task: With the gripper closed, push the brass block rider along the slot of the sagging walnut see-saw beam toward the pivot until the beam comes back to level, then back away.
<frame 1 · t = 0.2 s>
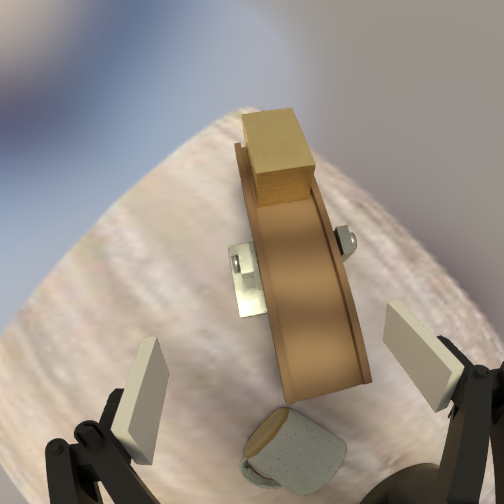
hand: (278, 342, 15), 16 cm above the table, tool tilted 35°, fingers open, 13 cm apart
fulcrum: (287, 272, 33), on the table
beam: (295, 250, 25), point 8 cm above the table, hinge at 6.4°, touching rider
ceramic mug: (284, 447, 27), on the table
rider: (275, 173, 27), point 8 cm above the table, tilted 6°, touching beam
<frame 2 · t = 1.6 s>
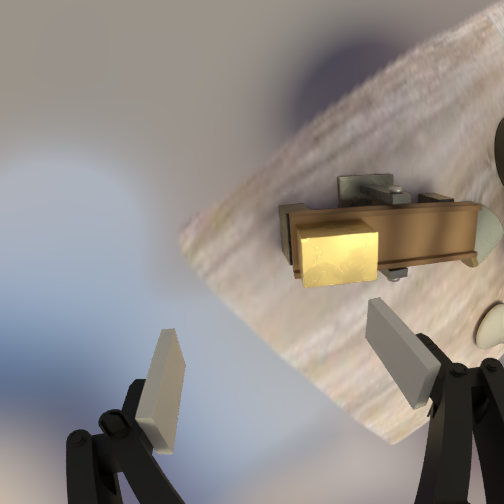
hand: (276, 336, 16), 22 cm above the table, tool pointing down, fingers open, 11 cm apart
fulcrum: (366, 219, 38), on the table
beam: (397, 235, 30), point 8 cm above the table, hinge at 6.9°, touching rider
flower in vase: (486, 325, 48), on the table
ceramic mug: (464, 233, 40), on the table
rider: (330, 243, 30), point 8 cm above the table, tilted 7°, touching beam
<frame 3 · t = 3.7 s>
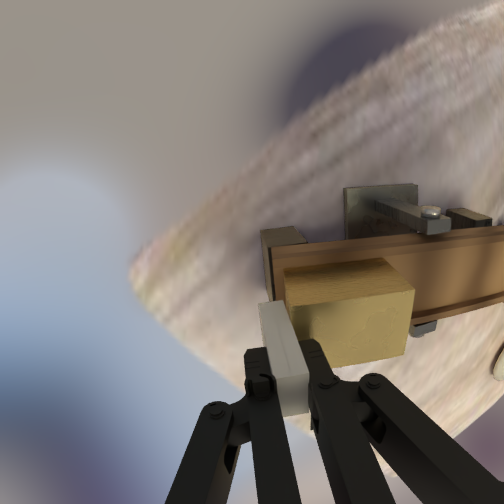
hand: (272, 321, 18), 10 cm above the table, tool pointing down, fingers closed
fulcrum: (381, 245, 28), on the table
beam: (427, 277, 20), point 8 cm above the table, hinge at 6.1°, touching rider
rider: (335, 293, 20), point 8 cm above the table, tilted 6°, touching beam, gripper
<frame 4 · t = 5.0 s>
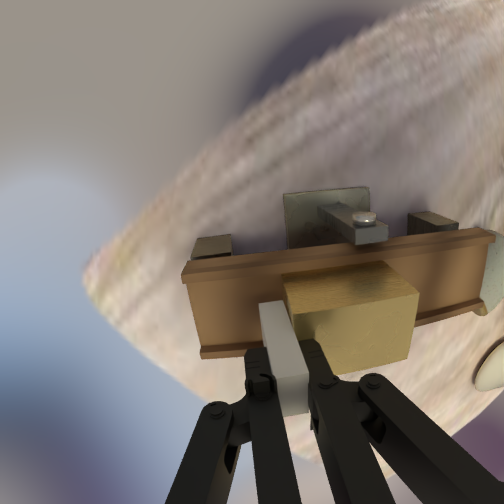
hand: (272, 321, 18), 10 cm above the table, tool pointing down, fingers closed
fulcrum: (329, 252, 27), on the table
beam: (365, 290, 20), point 8 cm above the table, hinge at 2.9°
flower in vase: (488, 364, 38), on the table
ceramic mug: (471, 267, 30), on the table
rider: (334, 298, 19), point 9 cm above the table, touching gripper
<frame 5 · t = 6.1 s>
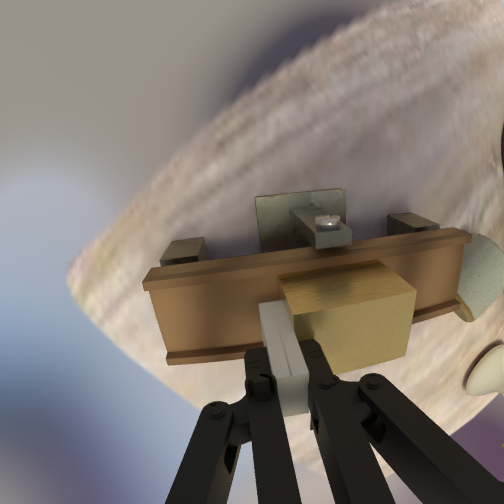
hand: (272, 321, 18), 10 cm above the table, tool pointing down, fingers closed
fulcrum: (303, 255, 28), on the table
beam: (331, 295, 20), point 8 cm above the table, hinge at -0.6°, touching rider
flower in vase: (480, 368, 38), on the table
ceramic mug: (460, 272, 30), on the table
rider: (330, 297, 19), point 9 cm above the table, touching beam, gripper
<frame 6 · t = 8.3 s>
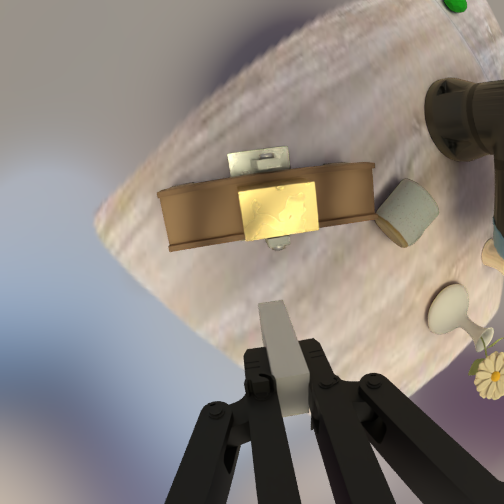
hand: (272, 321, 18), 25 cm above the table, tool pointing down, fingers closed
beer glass: (488, 251, 48), on the table
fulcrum: (263, 192, 40), on the table
beam: (273, 202, 32), point 8 cm above the table, hinge at 0.6°, touching rider
flower in vase: (441, 308, 50), on the table
ceramic mug: (398, 213, 43), on the table
polyhedron: (447, 5, 30), on the table
rider: (272, 202, 31), point 9 cm above the table, touching beam
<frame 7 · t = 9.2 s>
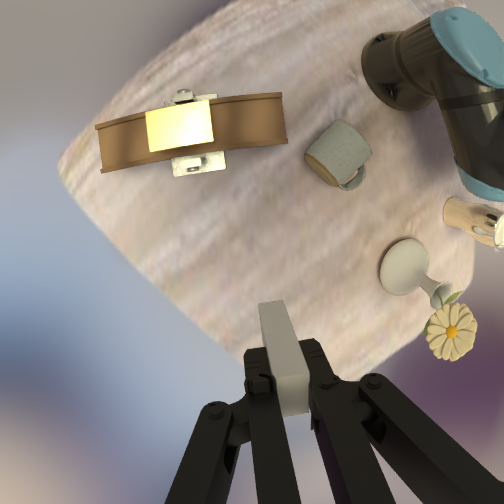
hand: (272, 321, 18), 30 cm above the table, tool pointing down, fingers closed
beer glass: (452, 211, 49), on the table
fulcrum: (195, 134, 42), on the table
beam: (187, 129, 34), point 8 cm above the table, hinge at 0.6°, touching rider
flower in vase: (397, 267, 52), on the table
ceramic mug: (335, 158, 45), on the table
rider: (185, 129, 33), point 9 cm above the table, touching beam
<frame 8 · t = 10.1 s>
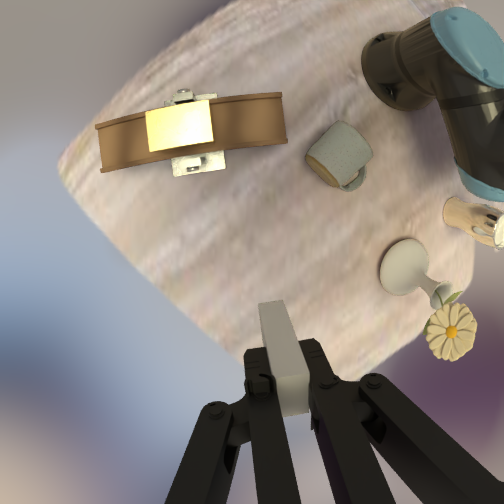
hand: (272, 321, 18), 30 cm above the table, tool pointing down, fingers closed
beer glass: (452, 211, 49), on the table
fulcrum: (194, 134, 42), on the table
beam: (187, 129, 34), point 8 cm above the table, hinge at 0.6°, touching rider
flower in vase: (397, 267, 52), on the table
ceramic mug: (336, 159, 45), on the table
rider: (185, 129, 33), point 9 cm above the table, touching beam
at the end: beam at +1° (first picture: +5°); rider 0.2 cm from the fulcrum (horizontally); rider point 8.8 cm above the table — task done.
